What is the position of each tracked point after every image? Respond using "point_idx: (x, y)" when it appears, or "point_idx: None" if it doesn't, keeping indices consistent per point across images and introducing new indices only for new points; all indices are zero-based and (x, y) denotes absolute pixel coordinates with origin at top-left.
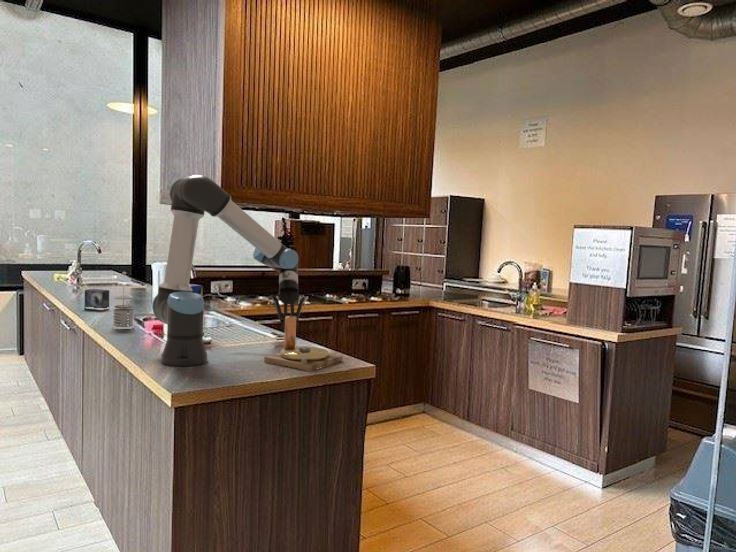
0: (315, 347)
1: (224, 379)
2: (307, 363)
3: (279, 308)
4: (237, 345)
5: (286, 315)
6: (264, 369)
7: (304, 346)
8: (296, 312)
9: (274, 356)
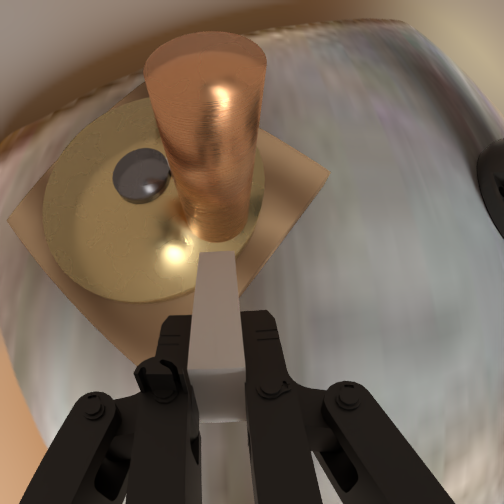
0: (74, 274)
1: (373, 51)
2: None
3: (408, 493)
4: (451, 474)
5: (259, 401)
6: (305, 101)
7: (126, 296)
8: (93, 450)
9: (288, 176)
